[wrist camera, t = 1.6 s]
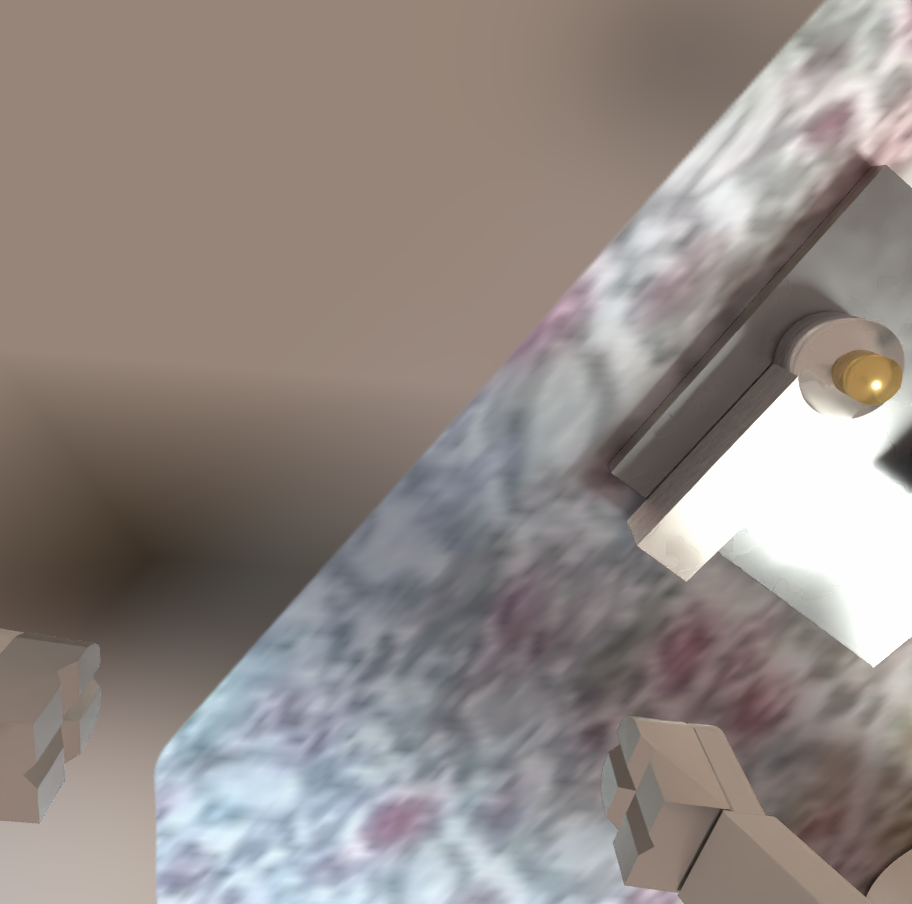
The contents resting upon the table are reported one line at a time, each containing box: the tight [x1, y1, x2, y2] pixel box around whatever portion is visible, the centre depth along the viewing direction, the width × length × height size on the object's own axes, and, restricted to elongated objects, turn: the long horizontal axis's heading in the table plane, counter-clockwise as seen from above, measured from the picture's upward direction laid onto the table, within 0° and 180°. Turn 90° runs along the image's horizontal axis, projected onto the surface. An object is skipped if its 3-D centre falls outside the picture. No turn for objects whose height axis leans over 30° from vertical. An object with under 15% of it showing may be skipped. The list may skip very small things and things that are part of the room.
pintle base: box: [607, 165, 912, 667], centre depth 31 cm, size 18×19×6 cm
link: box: [627, 311, 905, 582], centre depth 32 cm, size 14×4×3 cm, turn 144°
